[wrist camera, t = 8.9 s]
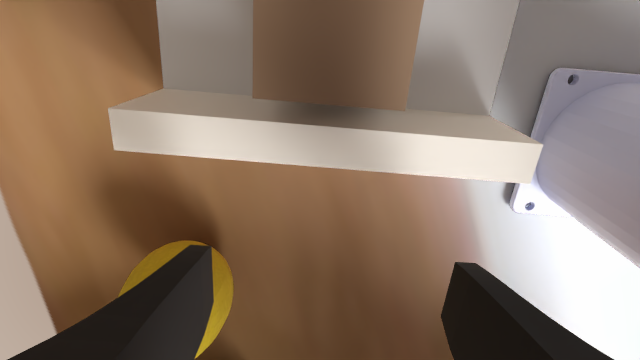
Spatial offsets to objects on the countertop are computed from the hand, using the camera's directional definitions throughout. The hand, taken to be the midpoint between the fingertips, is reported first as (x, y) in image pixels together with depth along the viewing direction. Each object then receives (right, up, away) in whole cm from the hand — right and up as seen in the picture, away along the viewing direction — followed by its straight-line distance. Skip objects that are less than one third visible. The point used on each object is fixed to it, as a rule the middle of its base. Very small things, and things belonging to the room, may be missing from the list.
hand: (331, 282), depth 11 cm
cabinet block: (0, +10, +4) cm, 11 cm away
